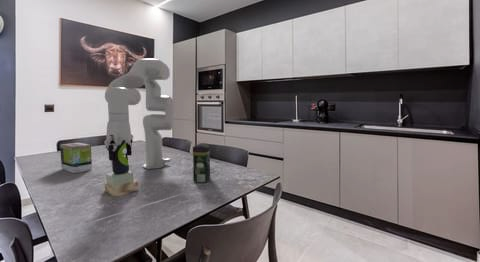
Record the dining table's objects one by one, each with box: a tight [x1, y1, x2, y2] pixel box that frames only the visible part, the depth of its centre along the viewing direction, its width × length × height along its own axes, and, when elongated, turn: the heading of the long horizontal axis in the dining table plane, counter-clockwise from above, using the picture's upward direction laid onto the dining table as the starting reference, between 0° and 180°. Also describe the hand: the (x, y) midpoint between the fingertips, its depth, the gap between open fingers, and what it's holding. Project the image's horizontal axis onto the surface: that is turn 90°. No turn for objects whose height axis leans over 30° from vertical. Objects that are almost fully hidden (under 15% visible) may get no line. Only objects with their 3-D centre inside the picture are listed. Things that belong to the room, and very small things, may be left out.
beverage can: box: [111, 140, 130, 174], centre depth 99 cm, size 6×6×15 cm
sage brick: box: [105, 169, 135, 187], centre depth 100 cm, size 8×8×4 cm
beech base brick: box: [103, 178, 139, 198], centre depth 101 cm, size 10×10×5 cm
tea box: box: [59, 142, 93, 174], centre depth 133 cm, size 15×10×15 cm
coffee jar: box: [192, 142, 211, 184], centre depth 116 cm, size 10×8×19 cm
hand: (120, 157), depth 99 cm, fingers open, 9 cm apart
